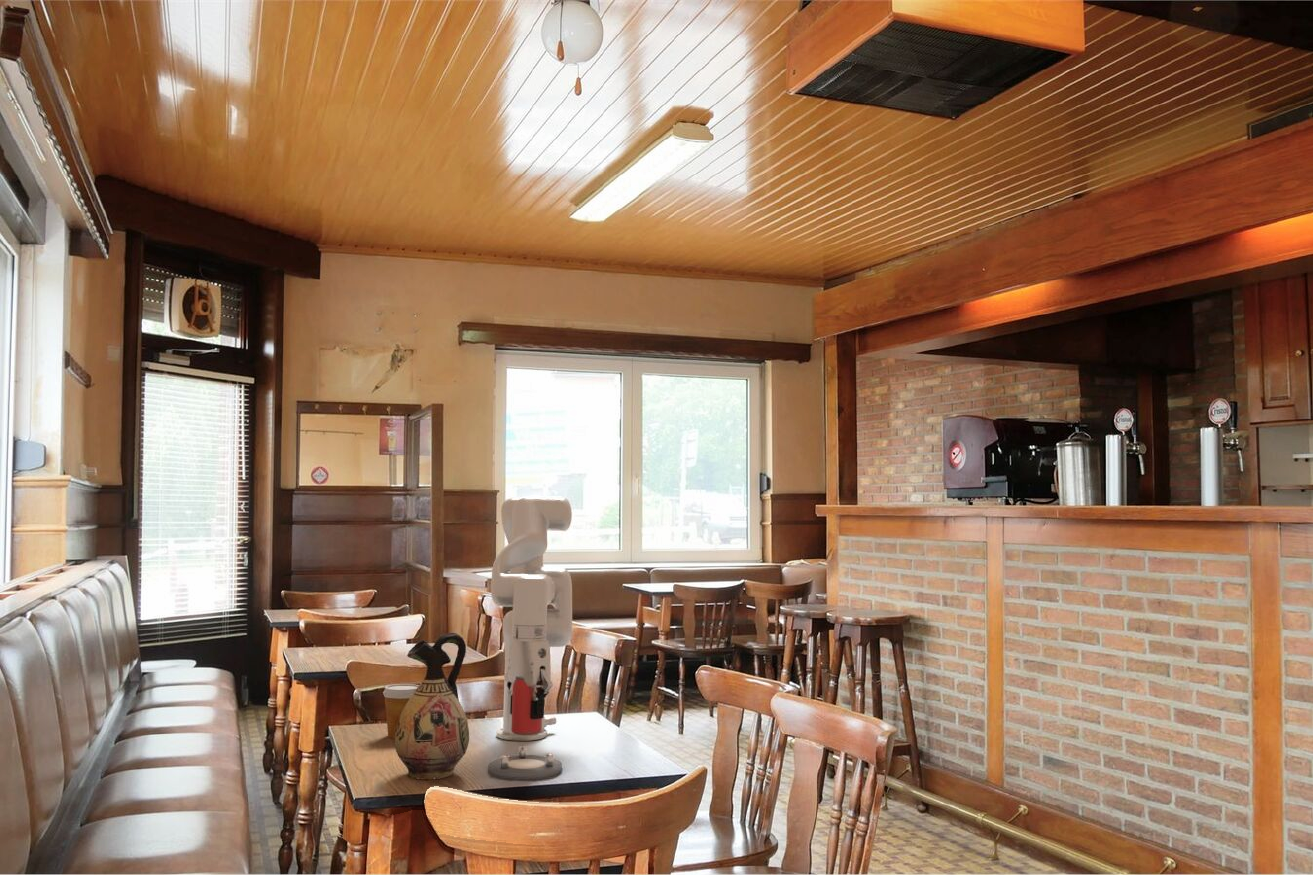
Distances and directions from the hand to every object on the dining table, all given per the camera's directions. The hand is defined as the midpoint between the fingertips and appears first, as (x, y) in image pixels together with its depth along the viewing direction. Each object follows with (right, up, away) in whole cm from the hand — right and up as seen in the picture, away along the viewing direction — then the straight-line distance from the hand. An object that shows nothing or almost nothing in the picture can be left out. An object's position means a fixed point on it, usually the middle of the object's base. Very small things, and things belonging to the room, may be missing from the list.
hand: (526, 715), depth 224 cm
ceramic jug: (-19, -11, -5) cm, 23 cm away
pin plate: (0, -12, -1) cm, 12 cm away
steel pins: (-1, -10, -1) cm, 11 cm away
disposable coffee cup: (-35, -14, +32) cm, 49 cm away
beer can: (0, -4, 0) cm, 4 cm away
